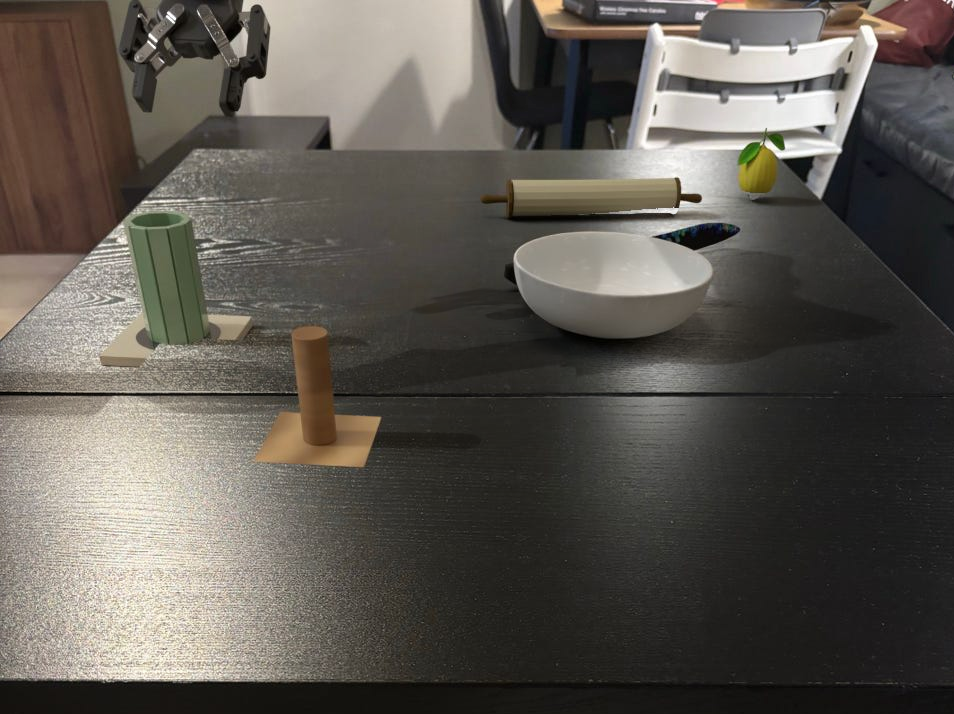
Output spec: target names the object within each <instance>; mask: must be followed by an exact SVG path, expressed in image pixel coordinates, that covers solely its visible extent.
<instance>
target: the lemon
mask: <svg viewBox="0 0 954 714" xmlns="http://www.w3.org/2000/svg"><path fill="white" fill-rule="evenodd" d="M767 131H768V127H765V129H764V134H763V139H761V140H760V141H753V142H749V143H747V144H746V146H745V147H744V148H743V149H742V150H741V152H740V154H739V156H738V159H737V164H736V166H740V167H739V171H738V186H739V188H740V191H742V190H743V191H745V192H750V193H767V192H769V193H770V192H771V191H772V190H773V187H774V186H775V183H776V181H777V176H778V161H777V157H776V155H775V153H774V152H773V151H772V150H771V149H770V148H768V147H767V146H766V140H767V139H766V138H768V139H769V140H770V142H771V143H772V144H773V146H774V147H776V148H777V149H779V151H786V145H785V140H784V137H783V135H782V134H781V133H778V132H774V133H771V134H769V135H768V134H767ZM767 194H768V193H767Z"/></svg>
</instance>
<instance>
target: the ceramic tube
mask: <svg viewBox="0 0 954 714" xmlns="http://www.w3.org/2000/svg"><path fill="white" fill-rule="evenodd" d="M122 223H123V227H124V232H125V236H126V241H127V246H128V251H129V255H130V260H131V265H132V269H133V275H134V279H135V284H136V288H137V293H138V298H139V303H140V308H141V312H143V317H144V322H145V327H146V331H147V336H148V337H149V338H150V339H151V341H154V342H156V343H160V344H163V345H170V346H173V345H186V344H191V343H194V342H198V341H200V340H203V339H204V338H205V337H206V336H207V335H208V334H209V332H210V326H209V320H208V315H209V314H208V308H207V303H206V296H205V292H204V286H203V279H202V274H201V267H200V261H199V256H198V249H197V243H196V237H195V231H194V226H193V219H192V217H191V216H190V215H188V214H187V213H184V212H180V211H174V210H169V211H167V210H155V211H153V210H152V211H149V212H148V211H144V212H140V213H136V214H135V213H134V214H132V215H129V216H128V217H127V218H125V219H124V220H123V222H122Z"/></svg>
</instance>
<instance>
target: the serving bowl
mask: <svg viewBox="0 0 954 714" xmlns="http://www.w3.org/2000/svg"><path fill="white" fill-rule="evenodd" d="M514 252H515V253H514V254H513V263H514V270H515V277H516V282H517V285H518V286H517V285H516V286H517V288H518V291H519V293H520V295H521V298H523V301H524V302H525V303H526V305H527V306H528V308H530V309H531V311H533V312H534V313H535V314H536V315H537V316H538V317H540V318H541V319H542V320H544V321H545V322H547V323H549V324H551V325H552V326H555V327H556V328H559V329H562V330H565V331H568V332H571V333H574V334H579V335H583V336H587V337H591V338H597V339H607V340H609V339H610V340H612V339H613V340H614V339H615V340H617V339H637V338H644V337H645V338H646V337H650V336H654V335H657V334H662V333H665V332H667V331H670V330H672V329H674V328H676V327H678V326H680V325H681V324H682V323H684V322H686V321H687V320H688V319H689V318H690V317H691V316H692V315H694V313H695V312H696V311H697V310H698V309H699V307H700V306H701V304H702V303H703V302H704V300H705V298H706V296H707V294H708V292H709V289H710V286H711V284H712V281H713V278H714V272H715V271H714V268H713V265H712V264H711V262H710V261H709V260H708V259H707V258H706V257H705V256H703V255H702V254H700V253H699V252H697V251H696V250H695V251H693V250H691V249H689V248H687V247H684V246H682V245H679V244H676V243H673V242H669V241H666V240H662V239H657V238H653V237H652V236H648V235H642V234H637V233H636V234H635V233H628V232H627V233H626V232H619V231H573V232H572V231H571V232H563V233H555V234H551V235H546V236H542V237H538V238H536V239H532V240H530V241H527V242H526V243H524V244H522V245H521V246H520V247H518V248H517V250H516V251H514Z"/></svg>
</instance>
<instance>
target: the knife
mask: <svg viewBox="0 0 954 714" xmlns="http://www.w3.org/2000/svg"><path fill="white" fill-rule="evenodd" d="M740 232H741V227H739V226H737V225H735V224H732V223H727V222H705V223H700V224H699V223H698V224H695V225H691V226H687V227H684V228H680V229H676V230H672V231H669V232H666V233H661V234H657V235H651V237H653V238H657V239H662V240H666V241H669V242H673V243H676V244H679V245H682V246H684V247H687V248H689V249H691V250H693V251H695V252H696V251H698V250H701V249H704V248H707V247H711V246H714V245H716V244H719V243H722V242H724V241H726V240H728V239H730V238H732V237H734V236H736V235H738V234H739V233H740ZM504 266H505V267H504V273H503V277H504V279H506V280H508V281H509V282H510V283H512V284H514V285H515V286H517V287H518V285H517V282H516V277H515V270H514V262H512V263H506V264H505V265H504Z"/></svg>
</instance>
